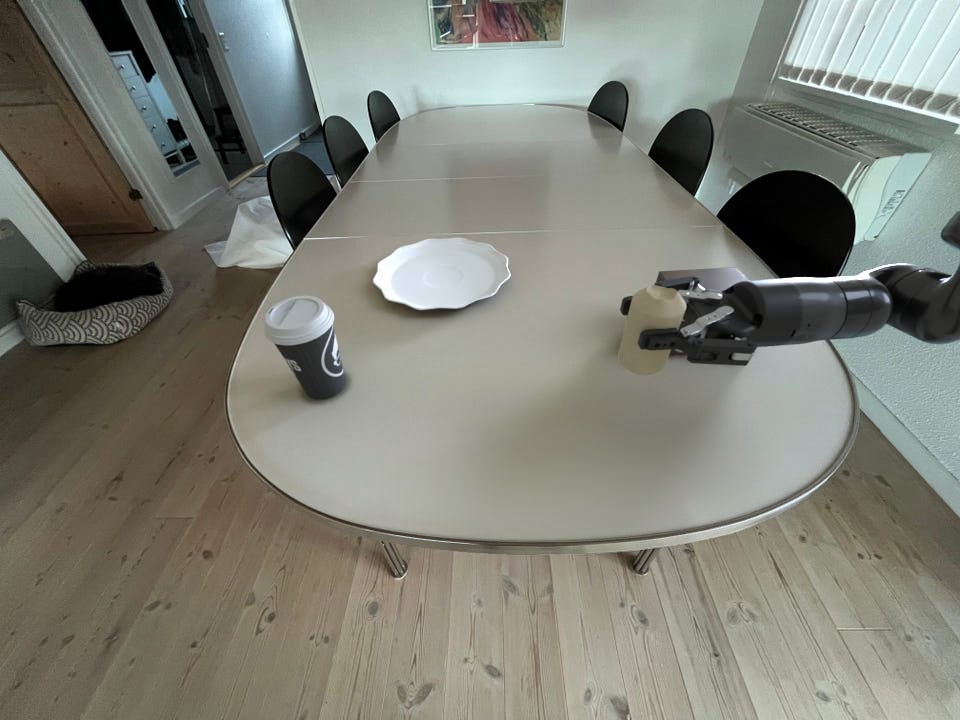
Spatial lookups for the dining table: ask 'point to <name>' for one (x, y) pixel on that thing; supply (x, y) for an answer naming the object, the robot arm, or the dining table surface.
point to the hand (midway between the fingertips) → (631, 322)
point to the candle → (649, 327)
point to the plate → (441, 274)
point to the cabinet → (705, 284)
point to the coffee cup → (307, 344)
